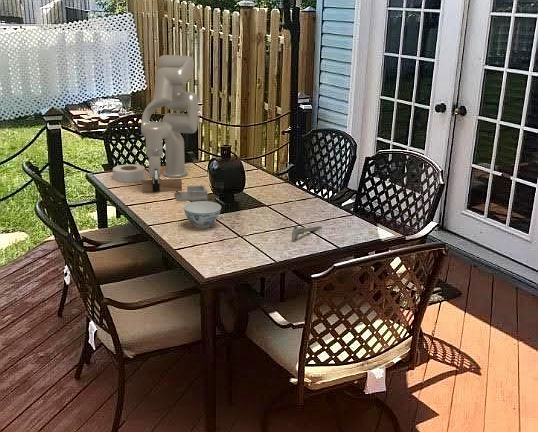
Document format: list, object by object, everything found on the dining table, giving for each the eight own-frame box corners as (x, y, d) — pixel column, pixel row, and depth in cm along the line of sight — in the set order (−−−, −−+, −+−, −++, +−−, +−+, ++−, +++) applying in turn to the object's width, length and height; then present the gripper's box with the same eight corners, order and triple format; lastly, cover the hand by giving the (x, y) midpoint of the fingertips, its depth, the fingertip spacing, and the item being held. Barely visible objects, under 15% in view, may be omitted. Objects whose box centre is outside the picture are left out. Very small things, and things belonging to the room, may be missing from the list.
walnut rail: (142, 190, 300) (142, 180, 299) (180, 188, 304) (180, 178, 303) (143, 193, 296) (142, 182, 294) (182, 191, 300) (181, 181, 299)
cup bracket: (174, 194, 296) (174, 186, 294) (204, 192, 299) (204, 184, 298) (176, 201, 286) (176, 193, 284) (207, 199, 289) (207, 191, 288)
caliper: (293, 242, 242) (294, 227, 240) (291, 242, 243) (292, 226, 241) (322, 228, 258) (323, 213, 256) (320, 227, 258) (321, 213, 256)
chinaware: (187, 232, 249) (186, 214, 246) (181, 220, 262) (181, 202, 260) (224, 229, 253) (224, 211, 250) (217, 217, 266) (217, 200, 264)
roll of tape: (113, 174, 325) (113, 164, 323) (145, 173, 328) (144, 163, 326) (112, 183, 310) (111, 172, 309) (145, 182, 313) (144, 171, 311)
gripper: (145, 148, 300) (146, 185, 306) (147, 156, 285) (148, 195, 291) (161, 147, 302) (162, 184, 308) (164, 156, 287) (165, 194, 293)
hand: (155, 189), depth 299 cm, fingers closed on walnut rail, 4 cm apart
